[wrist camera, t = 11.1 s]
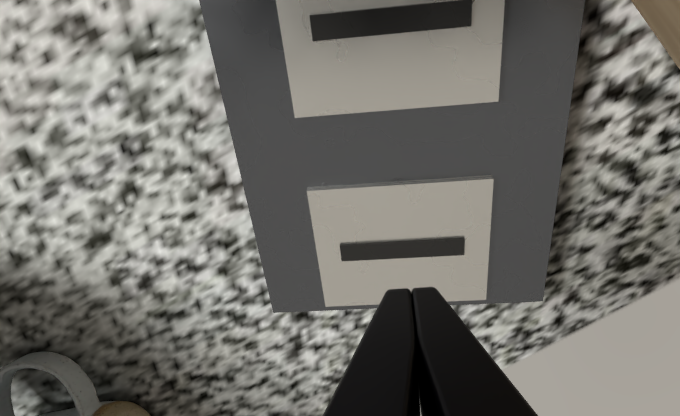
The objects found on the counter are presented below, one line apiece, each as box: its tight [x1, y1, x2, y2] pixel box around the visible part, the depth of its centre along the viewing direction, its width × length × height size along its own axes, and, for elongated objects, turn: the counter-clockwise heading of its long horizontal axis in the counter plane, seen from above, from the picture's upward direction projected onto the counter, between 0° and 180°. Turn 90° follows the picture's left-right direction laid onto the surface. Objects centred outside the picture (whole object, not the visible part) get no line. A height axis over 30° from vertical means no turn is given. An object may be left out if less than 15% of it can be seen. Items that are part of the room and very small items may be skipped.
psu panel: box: [199, 0, 585, 313], centre depth 19 cm, size 12×16×2 cm
